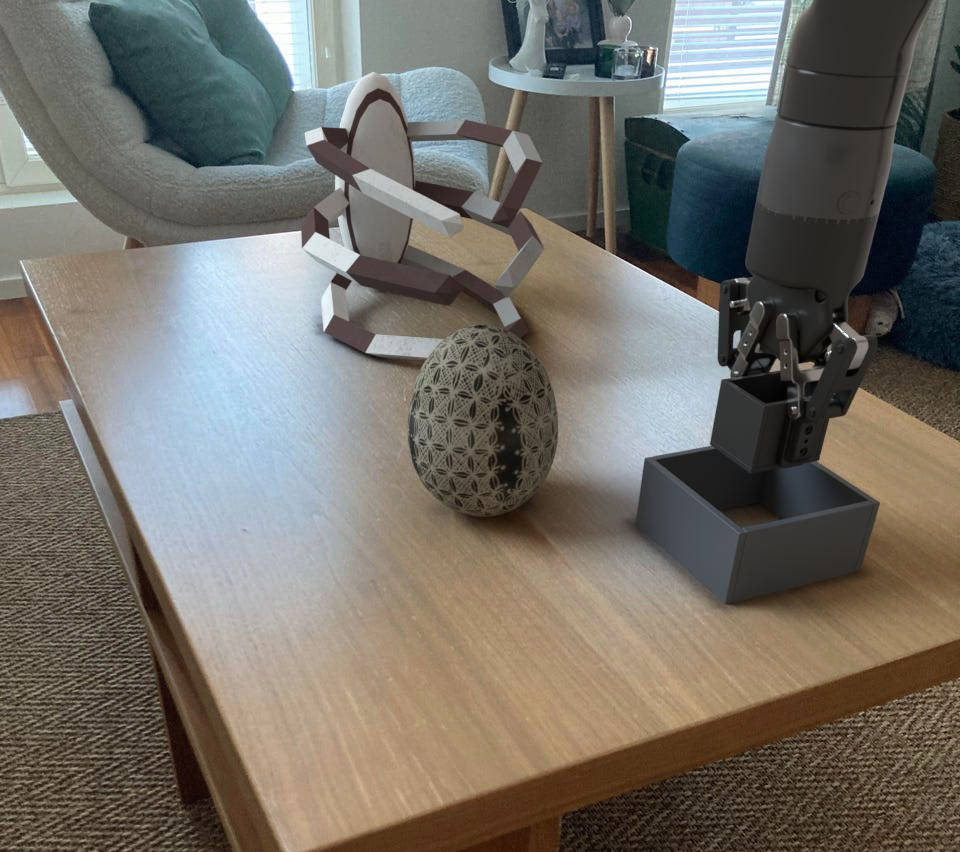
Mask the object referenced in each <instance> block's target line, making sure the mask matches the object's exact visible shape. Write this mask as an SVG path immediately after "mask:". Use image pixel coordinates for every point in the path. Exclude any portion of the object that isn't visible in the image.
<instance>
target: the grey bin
mask: <svg viewBox="0 0 960 852" xmlns="http://www.w3.org/2000/svg"><path fill="white" fill-rule="evenodd" d="M757 503H760V504H762V505H763V506H764V507H765V508H767V509H768V510H769V511H770V512H772V513H773V514H775V515H776V516H778V517H779V518H780V519H779V520H774V521H769V522H764V523H760V524H756V525H751V526H747V527H740V526H739V525H738V524H737V523H735V522H734V521H733V520H732V519H731V518H729V517H728V516H727V515H725V514H724V513H723V512H722V511H724V510H728V509H734V508H738V507H743V506H748V505H752V504H757ZM880 505H881V502H880V501H879V500H878V499H875V498H874V497H872V496H871V495H869V494H868V493H866V492H865V491H864V490H862V489H860V488H858V487H857V486H855V485H854V484H853V483H851V482H849V481H848V480H846V479H845V478H844V477H842V476H840V475H839V474H837V473H836V472H834V471H833V470H831V469H829V468H828V467H826V465H824V464H822V463H820V462H819V461H814V462H809V463H804V464H802V465H800V466H795V467H790V468H778V469H773V470H768V471H763V472H758V473H753V474H750V473H749V472H747V471H746V470H744V469H743V468H742V467H740V466H739V465H738V464H736V463H735V462H733V461H732V460H731V459H729V458H728V457H726V456H725V455H724V454H722V453H721V452H719V451H718V450H717V449H715V448H714V447H713V446H711V445H708V446H701V447H695V448H692V449H691V448H690V449H686V450H681V451H674V452H670V453H669V452H668V453H663V454H658V455H653V456H647V457H644V460H643V467H642V474H641V482H640V489H639V497H638V504H637V511H636V517H635V525H636V526H637V527H638V528H639V529H640V530H641V531H643V533H645V534H646V535H647V536H648V537H649V539H651V540H653V541H654V542H655V543H656V544H657V546H659V547H660V548H661V549H662V550H663V551H665V552H666V553H667V554H668V555H669V556H670V557H671V558H672V559H674V560H675V561H676V562H677V563H678V564H679V565H680V566H681V567H682V568H684V569H685V571H686V572H688V573H689V574H690V575H691V576H693V577H694V578H695V579H696V580H697V581H698V582H699V583H700V584H701V585H702V586H703V587H704V588H706V589H707V590H708V591H709V592H710V593H711V594H712V595H713V596H715V598H717V599H718V600H719V601H720V602H721V603H723V604H724V605H730V604H733V603H736V602H737V603H738V602H742V601H745V600H749V599H753V598H756V597H757V598H758V597H761V596H764V595H769V594H773V593H777V592H781V591H785V590H789V589H794V588H798V587H802V586H805V585H810V584H814V583H818V582H821V581H825V580H829V579H833V578H839V577H841V576H846V575H849V574H853V573H857V572H860V571H861V569H862V566H863V563H864V559H865V556H866V553H867V550H868V546H869V543H870V539H871V535H872V532H873V528H874V526H875V523H876V519H877V515H878V512H879V510H880V509H879V508H880Z"/></svg>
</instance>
